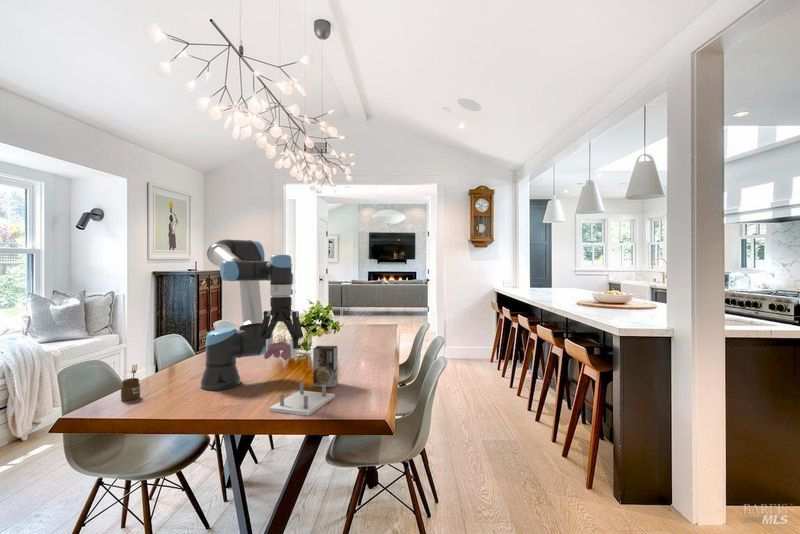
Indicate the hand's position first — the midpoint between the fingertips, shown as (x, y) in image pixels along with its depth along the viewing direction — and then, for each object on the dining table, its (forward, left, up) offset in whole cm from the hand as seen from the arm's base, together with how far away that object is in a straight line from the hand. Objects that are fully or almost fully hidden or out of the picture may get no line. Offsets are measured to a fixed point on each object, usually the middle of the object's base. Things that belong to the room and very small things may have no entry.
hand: (281, 356), depth 144 cm
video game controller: (0, -1, -1) cm, 1 cm away
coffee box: (+6, +24, -17) cm, 30 cm away
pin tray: (+9, +1, -17) cm, 19 cm away
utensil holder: (-56, -13, -17) cm, 60 cm away
